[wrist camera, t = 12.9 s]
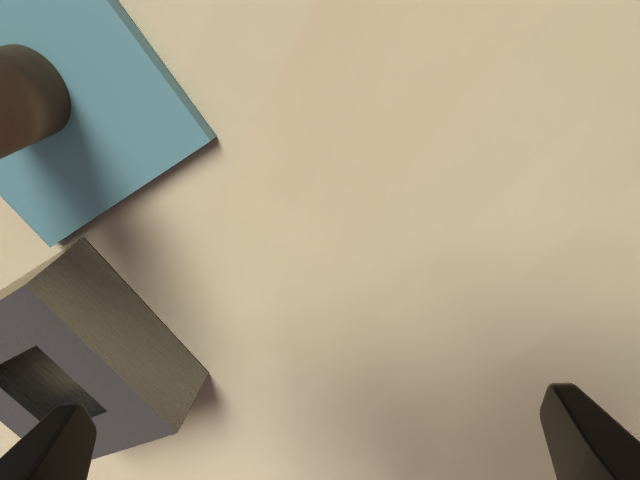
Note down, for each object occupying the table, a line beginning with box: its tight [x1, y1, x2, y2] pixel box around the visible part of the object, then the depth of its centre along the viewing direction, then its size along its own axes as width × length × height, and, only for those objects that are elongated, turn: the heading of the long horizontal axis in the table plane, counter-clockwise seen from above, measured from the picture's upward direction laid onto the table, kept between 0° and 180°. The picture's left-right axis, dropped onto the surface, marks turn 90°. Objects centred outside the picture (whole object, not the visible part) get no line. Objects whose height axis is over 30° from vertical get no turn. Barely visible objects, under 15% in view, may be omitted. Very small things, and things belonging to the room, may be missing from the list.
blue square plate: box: [0, 0, 216, 247], centre depth 19 cm, size 11×11×1 cm
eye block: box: [0, 237, 208, 460], centre depth 25 cm, size 10×10×4 cm
